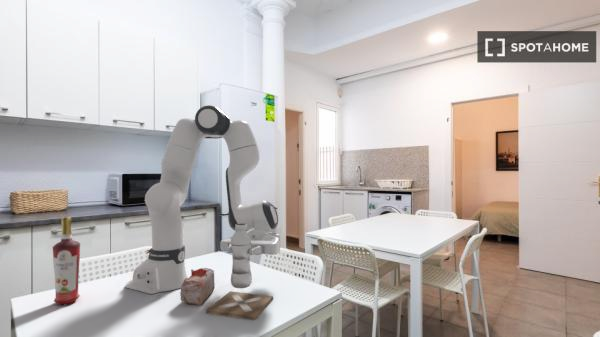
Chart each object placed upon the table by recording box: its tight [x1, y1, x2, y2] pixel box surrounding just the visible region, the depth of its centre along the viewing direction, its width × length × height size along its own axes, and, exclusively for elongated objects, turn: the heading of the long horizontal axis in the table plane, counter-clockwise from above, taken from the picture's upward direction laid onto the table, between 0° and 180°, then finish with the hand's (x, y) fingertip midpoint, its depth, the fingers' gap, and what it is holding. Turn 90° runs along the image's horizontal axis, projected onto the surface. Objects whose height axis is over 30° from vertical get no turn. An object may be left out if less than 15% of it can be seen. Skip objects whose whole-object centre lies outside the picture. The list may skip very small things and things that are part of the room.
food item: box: [179, 267, 216, 306], centre depth 107 cm, size 14×8×10 cm, turn 177°
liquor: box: [52, 216, 81, 306], centre depth 104 cm, size 7×7×28 cm
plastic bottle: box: [230, 223, 253, 289], centre depth 101 cm, size 6×7×20 cm
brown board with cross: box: [205, 291, 274, 321], centre depth 101 cm, size 16×15×1 cm
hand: (239, 251), depth 100 cm, fingers closed on plastic bottle, 6 cm apart
